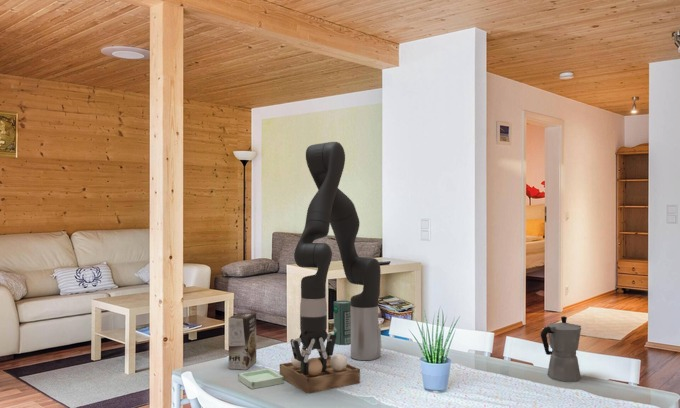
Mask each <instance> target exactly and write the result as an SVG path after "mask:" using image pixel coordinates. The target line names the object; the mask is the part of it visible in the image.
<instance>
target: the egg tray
mask: <svg viewBox="0 0 680 408" xmlns="http://www.w3.org/2000/svg"><path fill="white" fill-rule="evenodd" d="M316 358H317V359H319V358H320V356H319V357H316ZM331 358H332V356H329V357H327V368H326V370H325V372H321V373H320V374H319V375H317V376H311V375H309V374H308V375H306V376H305V375H303V373H301V369H297V368H295V367H294V366H293V364H292V361H290V362H284V363H280V364H279V374H280V375H282V376H283V377H284V382H285V381H286V382H287V383H289V384H291V385H293V386H294V387H296V388H297V389H299V390H301V391H303V392H304V393H306V394H311V393H316V392H321V391H326V390H330V389H335V388H341V387H345V386H350V385H354V384H355V383H356V384H360V383H361V369H360V368H358V367H356V366H353V365H351V364H349V363H347V366H346V368H345V369H344V370H342V371H335V370H333V369H332V367H331V365H330V360H331ZM309 359H310V358H308V360H309ZM356 384H355V385H356Z"/></svg>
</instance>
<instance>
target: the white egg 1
mask: <svg viewBox="0 0 680 408" xmlns="http://www.w3.org/2000/svg"><path fill="white" fill-rule="evenodd" d="M300 352H301V350H300ZM290 362H292V364H293V366H294V367H295V368H297V369H301V361H298V360H296V359H294V355H293V354H292V356H291V361H290Z"/></svg>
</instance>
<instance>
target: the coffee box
mask: <svg viewBox="0 0 680 408" xmlns="http://www.w3.org/2000/svg"><path fill="white" fill-rule="evenodd" d="M227 339H228V369H230V370H231V369H232V370H242V371H246V370H248V369H250V368H251V367H252V366H253V365H255V364H256V363H257V313H256V312H238V313H236V314H233V315H232V316H229V317H228V338H227Z"/></svg>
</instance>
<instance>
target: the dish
mask: <svg viewBox="0 0 680 408" xmlns="http://www.w3.org/2000/svg"><path fill="white" fill-rule="evenodd" d="M237 380H238V381H239V382H240V383H242V385H243V384H244V385H245V386H247V387H248V388H249V389H251V390H254V389H261V388H265V387H271V386H276V385H280V384H284V383H285V380H284V377H283V376H282V375H280V373H278V372H276V371H275V370H273V369H272V368H264V369H259V370H258V369H257V370H252V371H246V372H240V373H237Z"/></svg>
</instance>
